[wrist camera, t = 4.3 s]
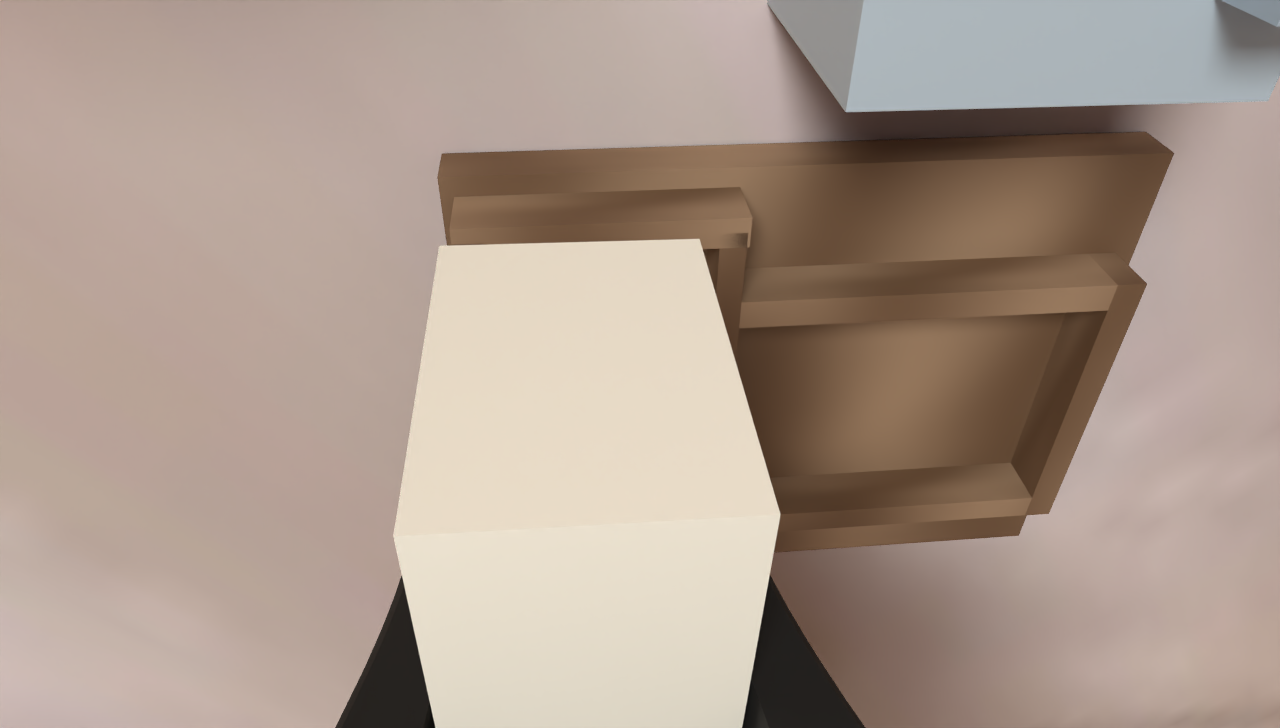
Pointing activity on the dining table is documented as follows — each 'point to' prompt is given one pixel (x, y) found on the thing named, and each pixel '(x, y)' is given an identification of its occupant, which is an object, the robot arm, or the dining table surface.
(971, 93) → the blue box with knob
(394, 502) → the dining table surface
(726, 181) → the jig
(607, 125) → the dining table surface
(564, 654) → the cream rectangular block
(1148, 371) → the dining table surface
